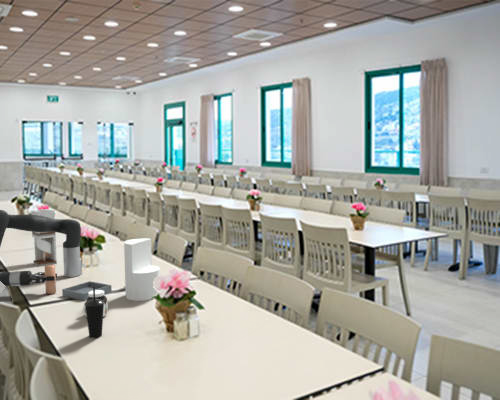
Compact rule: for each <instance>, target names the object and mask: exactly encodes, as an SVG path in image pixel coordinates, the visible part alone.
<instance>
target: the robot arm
mask: <svg viewBox="0 0 500 400" xmlns="http://www.w3.org/2000/svg"><path fill="white" fill-rule="evenodd" d="M7 229H13V230H17V231H18V230H19V231H26V232H31V233H32V232H50V231H51V232H55V233H59V234H62V235H66V237H65V241H63V243H62V251H63V252H62V254H63V256H62V258H63V277H66V278H75V277H79V276H81V275H83V268H82V267H83V264H82V263H83V260H82V258H81V250H80V249H81V248H80V247H81V246H80V245H81V241H82V240H81V239H82V226H81V224H80V222H79V221H77V220H75V219H71V218H70V219H69V218H64V219H63V218H59V219H56V218H55V219H51V218H48V217H44V216H38V215H31V214H9V213H8V212H7V211H5V210H3V209H0V247H1V246H2V242H3V239H4V237H5V233H6V230H7ZM55 276H56V278H58V273H57V272H55ZM55 276H47V277H46V276H45V271H44V272H43V271H41V272H40V271H38V272H36V273H34V274H33V273H32V271H31V270H17V271H15V270H14V271H3V272H0V281H1V282H2V283H3V284H4V285H5V286H4V287H26V286H27V287H28V286H29V287H30V286H31V285H33V284H42V283H43V284H44V283H45V282H46V281H54V280H55Z"/></svg>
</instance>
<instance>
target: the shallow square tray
mask: <svg viewBox="0 0 500 400" xmlns="http://www.w3.org/2000/svg"><path fill="white" fill-rule="evenodd" d="M93 287H95V290H103V291H104V295H106V294H108V293H112V284H106V283H101V282H97V281H91V280H90V281H85V282H83V283H79V284H76V285H73V286H70V287H69V286H68V287H66V288H62V290H61V291H62V292H61V293H62V297H64V298H65V297H66V298H70V299H74V300H79V301H85V302H86V301H87V298H88V297H89V296H88V292H90V291H93Z"/></svg>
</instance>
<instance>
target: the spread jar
mask: <svg viewBox="0 0 500 400" xmlns="http://www.w3.org/2000/svg"><path fill="white" fill-rule="evenodd" d="M88 296H89V297H88V298H87V300H85V302H87V301H89V300H92V299H93V291H90V292H88ZM95 299H100V300H103V301H104V302H105V303H104V309H103V320H104V319H105V318H106V316H107V314H108V309H109V308H108V307H109V306H108V305H109V304H108V303H109V302H108V298H107V295H106V294H104V291H103V290H95ZM82 312H83V313H84V314H85V316H86V317H87V315H86V308H85V305H84V304H83V307H82Z"/></svg>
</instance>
